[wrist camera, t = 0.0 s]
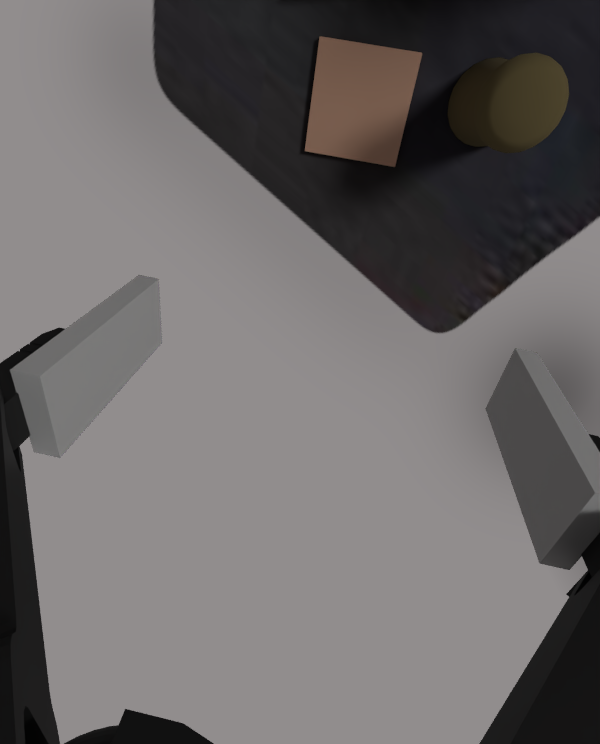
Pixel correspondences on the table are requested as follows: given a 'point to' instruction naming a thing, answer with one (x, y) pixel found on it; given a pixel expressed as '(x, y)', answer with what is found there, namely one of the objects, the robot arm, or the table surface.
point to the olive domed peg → (508, 102)
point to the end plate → (360, 100)
